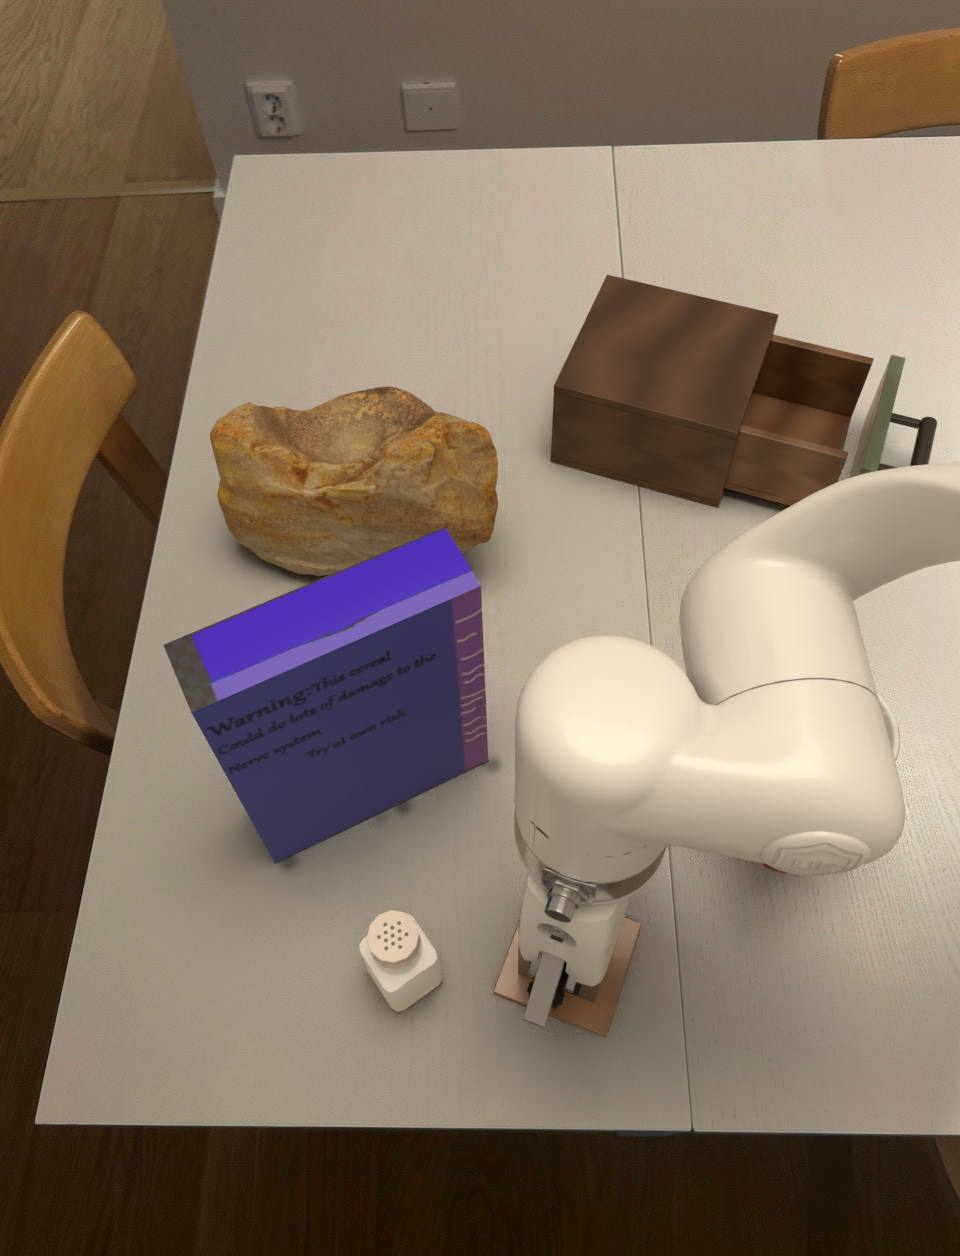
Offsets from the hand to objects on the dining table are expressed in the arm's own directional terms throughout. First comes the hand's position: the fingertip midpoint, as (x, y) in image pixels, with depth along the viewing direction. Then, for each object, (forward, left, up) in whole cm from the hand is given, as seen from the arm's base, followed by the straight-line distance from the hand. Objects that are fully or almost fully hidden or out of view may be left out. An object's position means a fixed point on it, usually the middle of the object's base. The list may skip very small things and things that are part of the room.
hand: (573, 927), depth 67 cm
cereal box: (+18, -7, -8) cm, 21 cm away
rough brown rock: (+28, -31, -8) cm, 42 cm away
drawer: (-6, -49, -7) cm, 50 cm away
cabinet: (+8, -49, -7) cm, 50 cm away
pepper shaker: (+10, +5, -8) cm, 14 cm away
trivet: (0, 0, -7) cm, 7 cm away
